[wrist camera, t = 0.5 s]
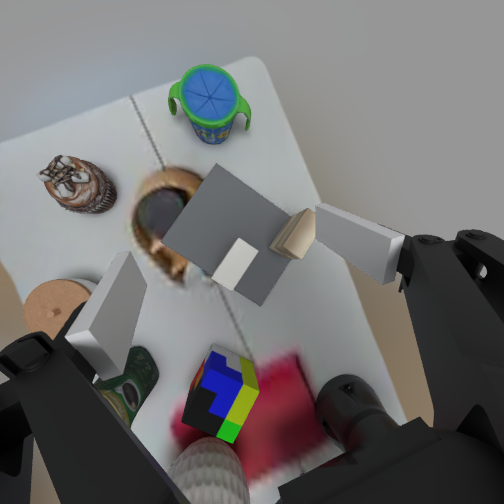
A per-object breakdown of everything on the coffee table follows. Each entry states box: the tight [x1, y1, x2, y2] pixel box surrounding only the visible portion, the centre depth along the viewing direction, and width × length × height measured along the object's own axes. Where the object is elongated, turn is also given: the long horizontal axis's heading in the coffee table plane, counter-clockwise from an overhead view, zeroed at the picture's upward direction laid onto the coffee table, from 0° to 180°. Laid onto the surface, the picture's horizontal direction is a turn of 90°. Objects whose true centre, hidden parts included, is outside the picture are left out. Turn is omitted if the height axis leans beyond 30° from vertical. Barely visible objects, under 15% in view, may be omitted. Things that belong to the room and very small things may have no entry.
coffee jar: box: [94, 347, 158, 428], centre depth 34 cm, size 10×8×19 cm
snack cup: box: [168, 64, 251, 144], centre depth 41 cm, size 16×10×10 cm
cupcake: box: [37, 155, 117, 213], centre depth 38 cm, size 10×10×10 cm
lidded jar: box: [23, 278, 97, 340], centre depth 38 cm, size 11×11×9 cm
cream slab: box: [212, 238, 258, 291], centre depth 40 cm, size 4×8×12 cm, turn 146°
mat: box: [161, 163, 292, 307], centre depth 46 cm, size 26×21×1 cm
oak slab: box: [268, 208, 315, 259], centre depth 42 cm, size 4×8×12 cm, turn 146°
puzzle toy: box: [181, 344, 260, 444], centre depth 41 cm, size 10×10×10 cm
